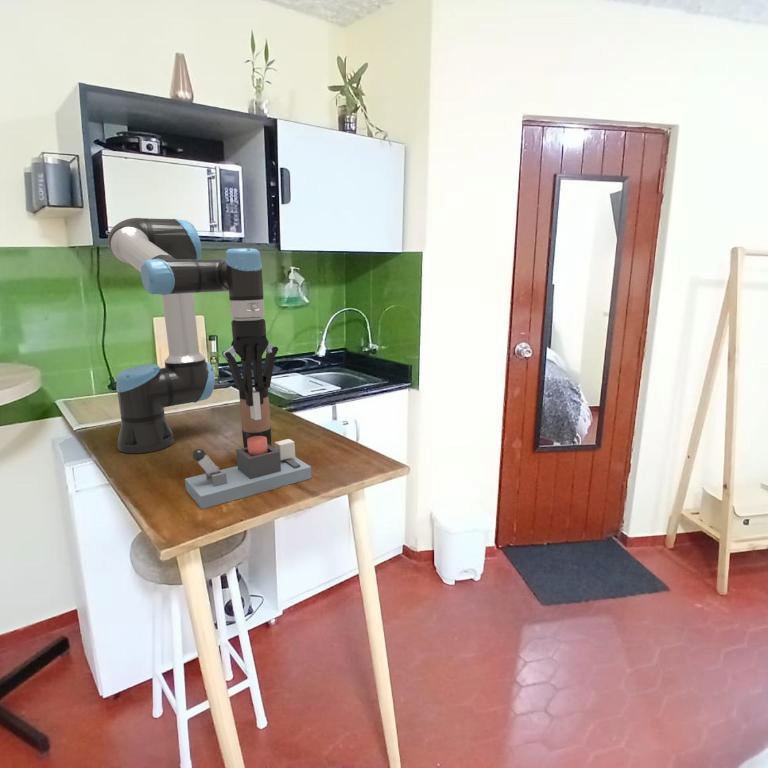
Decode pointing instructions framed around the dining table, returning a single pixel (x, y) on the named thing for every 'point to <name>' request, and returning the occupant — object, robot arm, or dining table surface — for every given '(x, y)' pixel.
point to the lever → (205, 462)
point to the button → (257, 445)
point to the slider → (285, 448)
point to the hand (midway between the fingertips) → (256, 418)
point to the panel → (247, 478)
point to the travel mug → (255, 426)
